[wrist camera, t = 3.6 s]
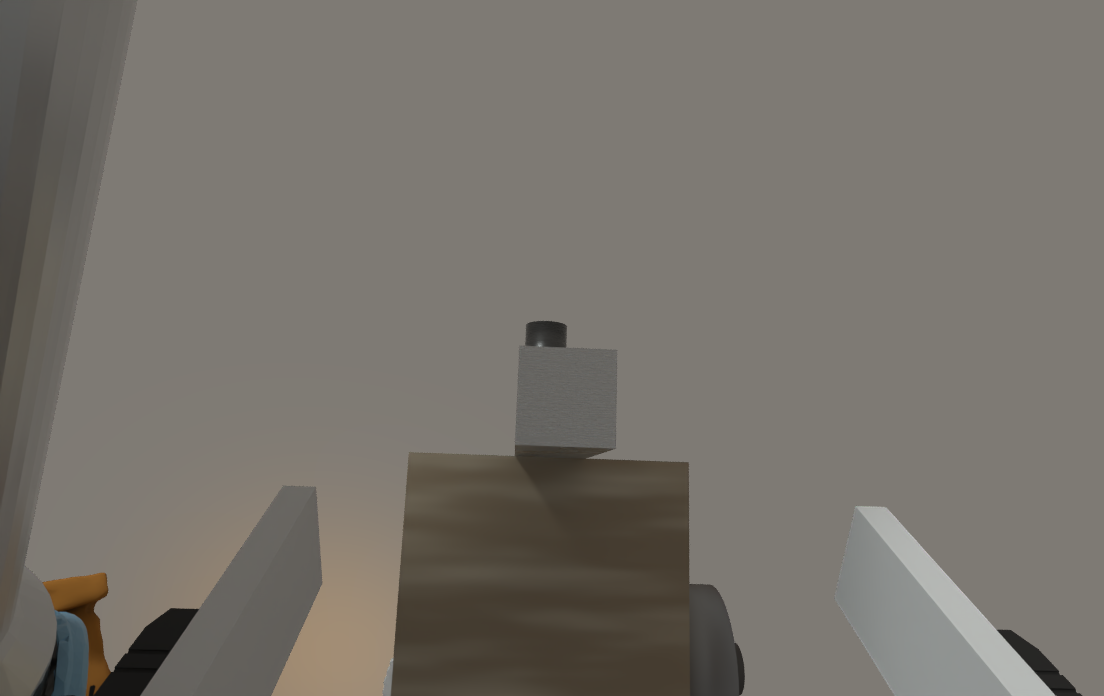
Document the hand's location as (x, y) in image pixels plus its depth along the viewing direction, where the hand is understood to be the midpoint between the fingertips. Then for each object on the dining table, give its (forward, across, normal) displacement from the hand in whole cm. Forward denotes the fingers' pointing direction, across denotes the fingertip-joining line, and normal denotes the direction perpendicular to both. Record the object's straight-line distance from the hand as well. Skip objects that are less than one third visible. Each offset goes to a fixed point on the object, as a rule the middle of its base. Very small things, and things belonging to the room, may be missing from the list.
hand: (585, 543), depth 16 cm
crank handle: (+13, 0, -4) cm, 13 cm away
